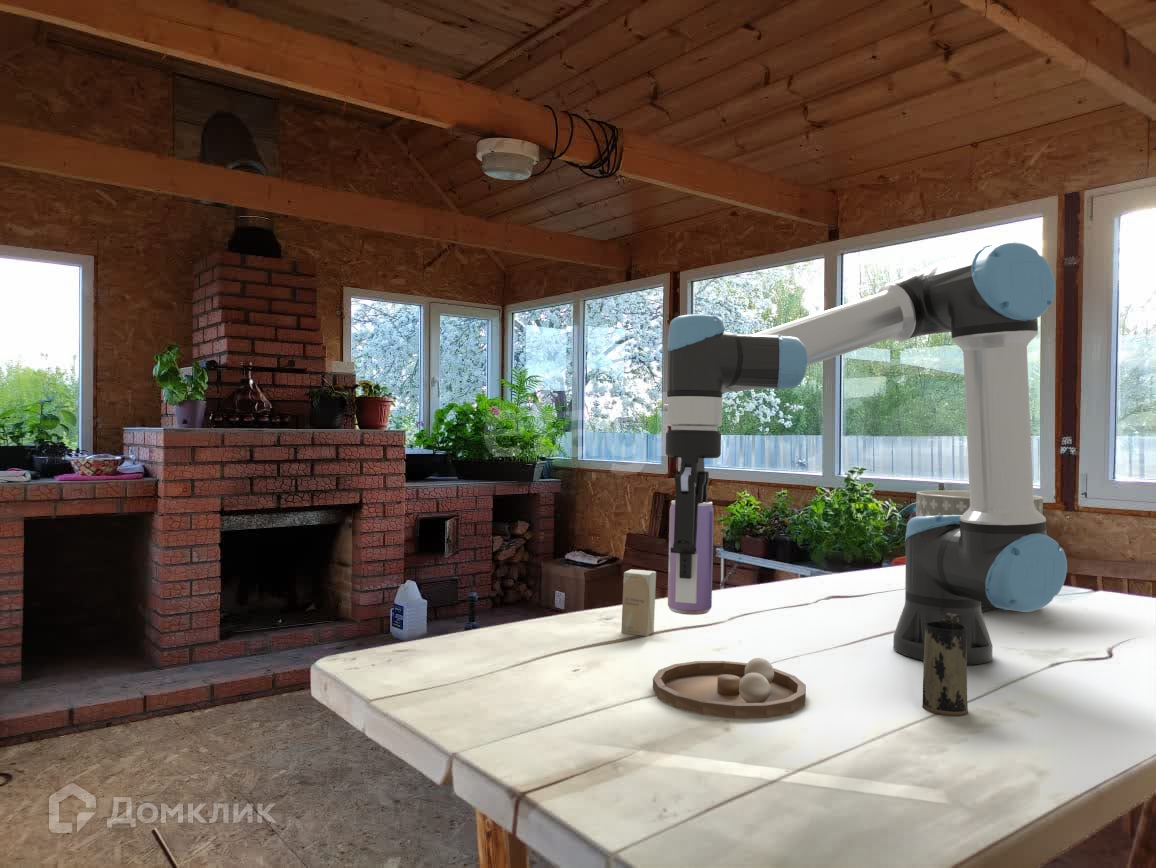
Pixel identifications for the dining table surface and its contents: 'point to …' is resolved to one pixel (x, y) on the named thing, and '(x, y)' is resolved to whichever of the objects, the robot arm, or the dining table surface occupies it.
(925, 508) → the planter
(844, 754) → the dining table surface
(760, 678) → the bead
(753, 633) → the dining table surface
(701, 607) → the beverage can
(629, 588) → the box
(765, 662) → the bead
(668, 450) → the robot arm
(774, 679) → the tray
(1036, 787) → the dining table surface
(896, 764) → the dining table surface
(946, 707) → the mug
